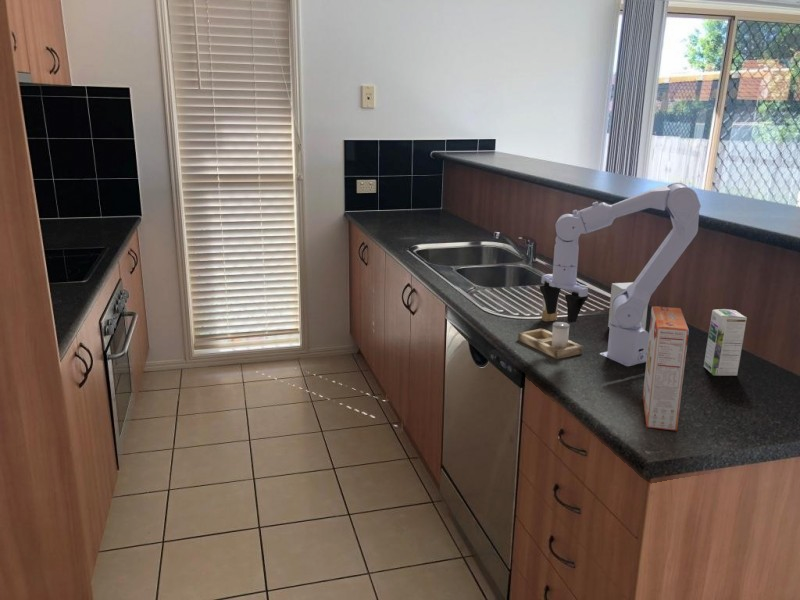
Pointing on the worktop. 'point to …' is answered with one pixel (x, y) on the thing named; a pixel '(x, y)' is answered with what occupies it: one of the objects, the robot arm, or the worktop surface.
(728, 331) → the syrup box
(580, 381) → the worktop surface
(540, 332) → the caddy
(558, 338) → the salt shaker
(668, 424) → the cracker box
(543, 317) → the sprinkles bottle
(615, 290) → the small box
